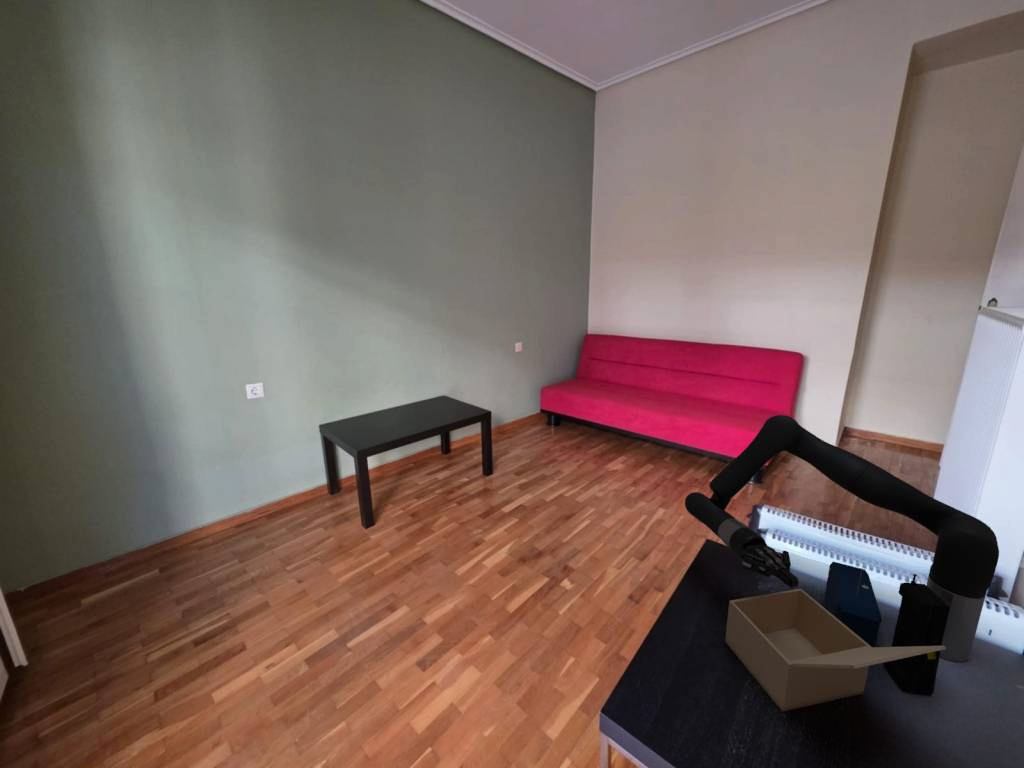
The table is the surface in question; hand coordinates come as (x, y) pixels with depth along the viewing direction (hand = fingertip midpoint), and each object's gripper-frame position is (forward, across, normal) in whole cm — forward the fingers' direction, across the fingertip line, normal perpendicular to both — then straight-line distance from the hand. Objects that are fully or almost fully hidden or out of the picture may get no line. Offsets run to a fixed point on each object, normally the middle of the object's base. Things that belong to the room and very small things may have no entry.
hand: (795, 583), depth 93 cm
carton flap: (+16, 0, +3) cm, 16 cm away
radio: (-6, +24, +21) cm, 33 cm away
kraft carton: (+2, 0, +21) cm, 21 cm away
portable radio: (+11, +22, +21) cm, 33 cm away
